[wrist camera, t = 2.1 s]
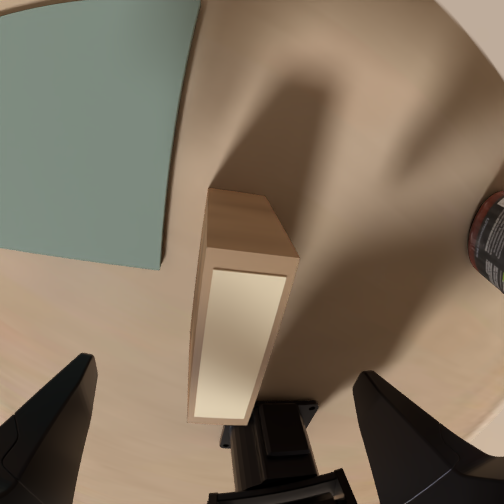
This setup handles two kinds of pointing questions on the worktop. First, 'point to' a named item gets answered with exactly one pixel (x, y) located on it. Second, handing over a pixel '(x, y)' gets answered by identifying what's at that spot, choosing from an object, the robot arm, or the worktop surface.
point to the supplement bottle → (489, 240)
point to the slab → (236, 305)
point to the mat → (90, 126)
